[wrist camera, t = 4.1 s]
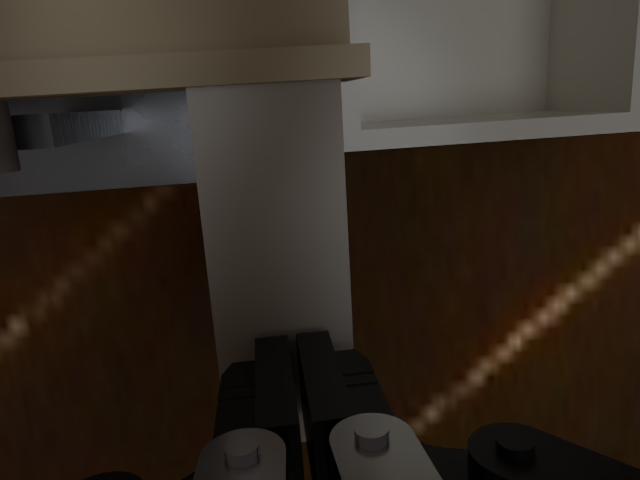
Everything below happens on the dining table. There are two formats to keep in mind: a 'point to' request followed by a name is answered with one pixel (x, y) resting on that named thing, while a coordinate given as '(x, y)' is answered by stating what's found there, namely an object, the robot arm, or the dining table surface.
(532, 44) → the open grey tray box
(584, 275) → the dining table surface
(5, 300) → the dining table surface
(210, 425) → the dining table surface
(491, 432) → the robot arm
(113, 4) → the chute
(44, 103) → the stand
